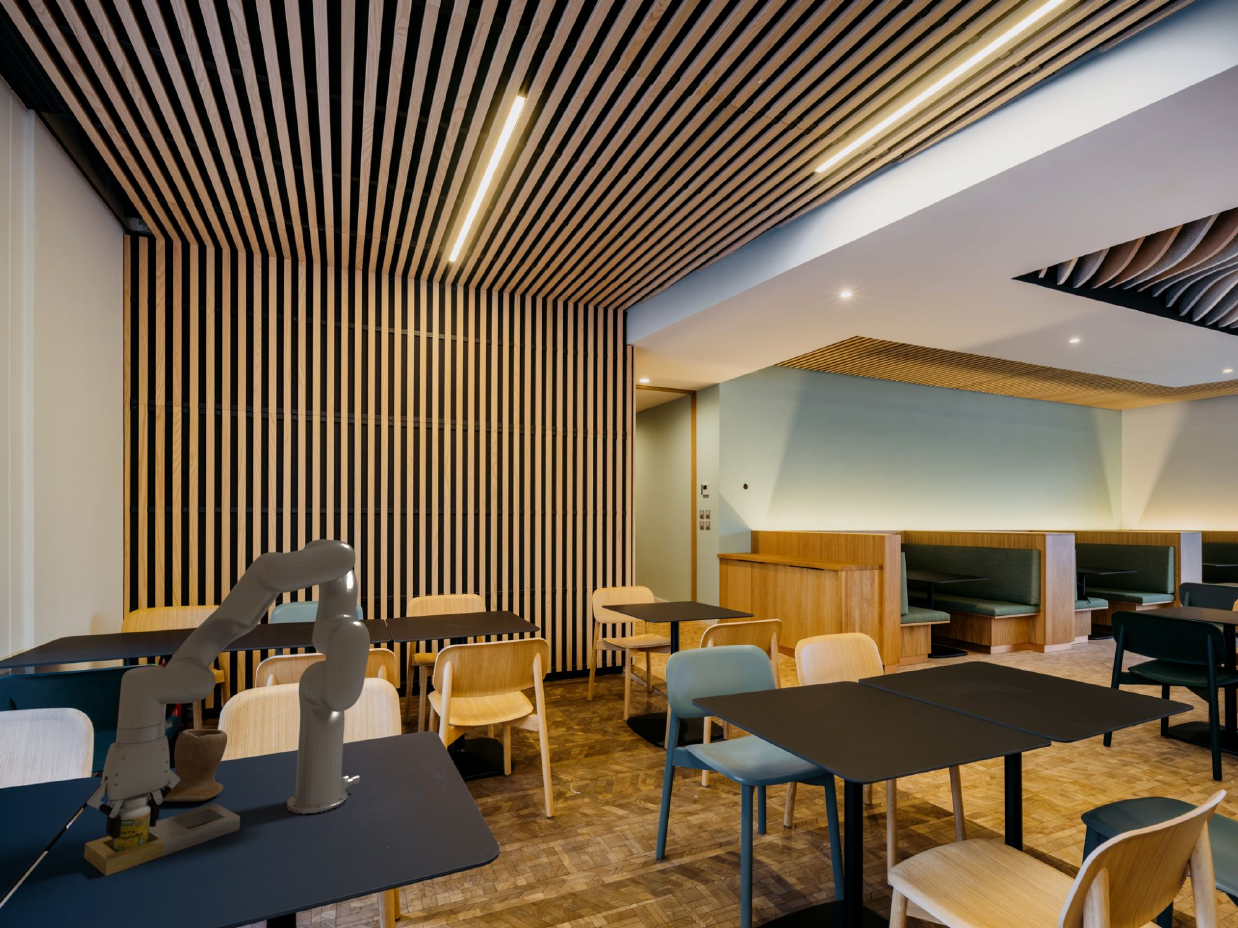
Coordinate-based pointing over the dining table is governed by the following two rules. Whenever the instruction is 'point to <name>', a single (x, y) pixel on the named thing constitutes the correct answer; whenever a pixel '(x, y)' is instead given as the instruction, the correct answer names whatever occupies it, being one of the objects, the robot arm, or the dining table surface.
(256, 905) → the dining table surface
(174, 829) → the holder
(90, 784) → the dining table surface
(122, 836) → the supplement bottle
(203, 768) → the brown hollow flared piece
